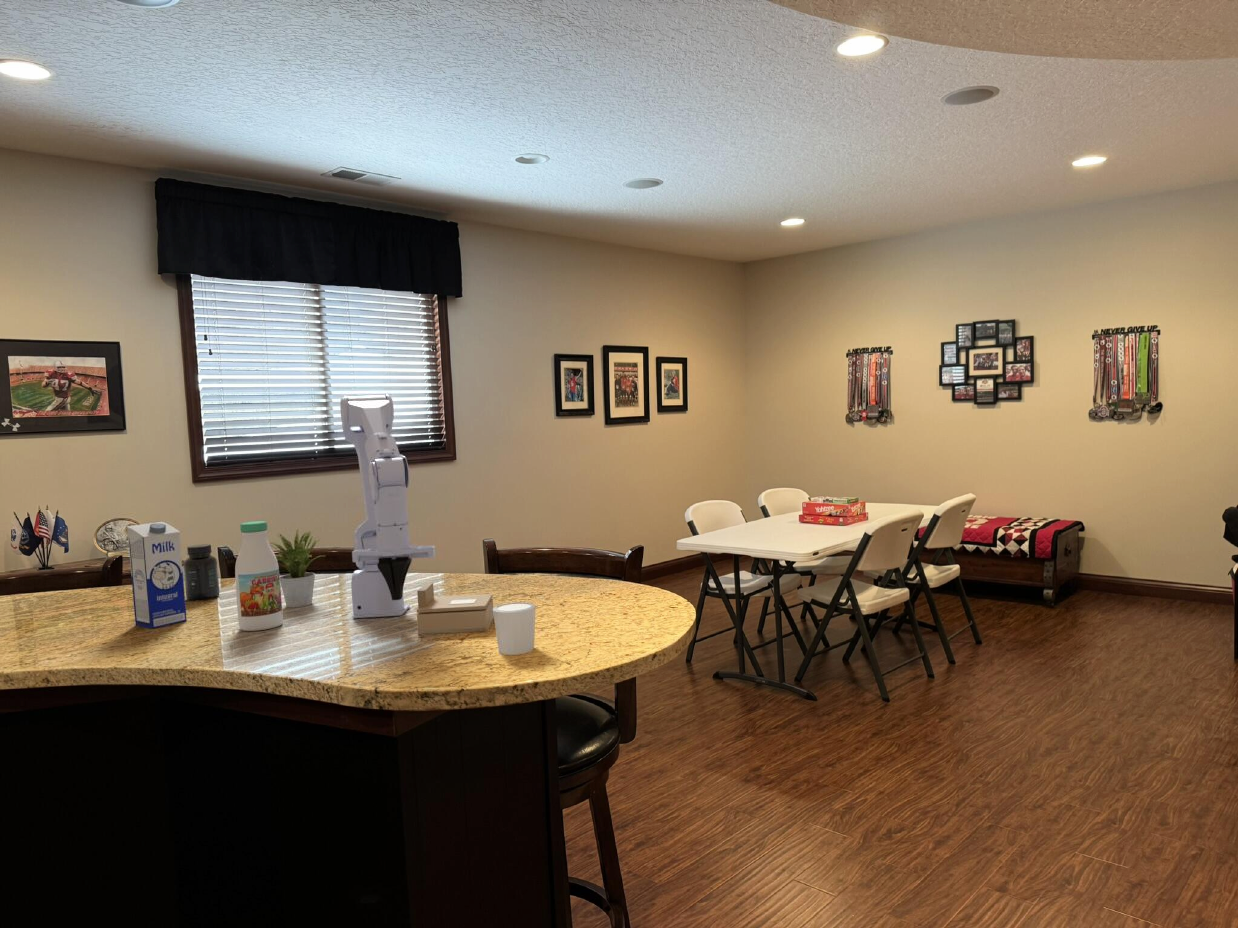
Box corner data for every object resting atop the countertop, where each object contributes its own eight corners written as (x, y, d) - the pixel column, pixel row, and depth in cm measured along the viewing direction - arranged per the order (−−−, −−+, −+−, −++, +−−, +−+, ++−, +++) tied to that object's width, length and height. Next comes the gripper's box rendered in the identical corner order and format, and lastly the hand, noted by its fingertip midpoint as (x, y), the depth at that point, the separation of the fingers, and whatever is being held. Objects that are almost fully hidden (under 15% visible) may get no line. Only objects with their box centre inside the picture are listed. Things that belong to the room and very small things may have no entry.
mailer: (418, 634, 146) (416, 614, 146) (429, 620, 156) (428, 601, 156) (486, 630, 146) (485, 610, 146) (493, 617, 156) (492, 598, 156)
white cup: (501, 658, 129) (498, 613, 128) (490, 647, 135) (487, 605, 135) (543, 651, 132) (541, 607, 131) (530, 641, 138) (528, 599, 137)
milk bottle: (229, 631, 156) (221, 525, 155) (260, 620, 163) (252, 519, 162) (262, 632, 153) (254, 525, 152) (292, 622, 160) (284, 519, 159)
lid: (416, 612, 146) (415, 592, 146) (428, 600, 156) (427, 581, 155) (485, 609, 146) (484, 588, 146) (492, 596, 156) (491, 577, 156)
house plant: (281, 597, 186) (276, 524, 185) (343, 594, 185) (338, 521, 184) (251, 612, 171) (245, 533, 170) (318, 609, 171) (312, 530, 170)
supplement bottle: (179, 601, 187) (175, 548, 187) (202, 594, 194) (198, 543, 193) (203, 601, 185) (199, 548, 185) (226, 594, 192) (222, 543, 191)
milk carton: (170, 617, 171) (162, 520, 169) (187, 620, 167) (179, 521, 166) (134, 625, 165) (125, 525, 164) (151, 629, 161) (142, 526, 160)
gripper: (344, 529, 146) (350, 606, 146) (428, 524, 146) (433, 601, 147) (356, 524, 153) (361, 597, 153) (436, 520, 153) (440, 593, 154)
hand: (397, 598), depth 151 cm, fingers closed
